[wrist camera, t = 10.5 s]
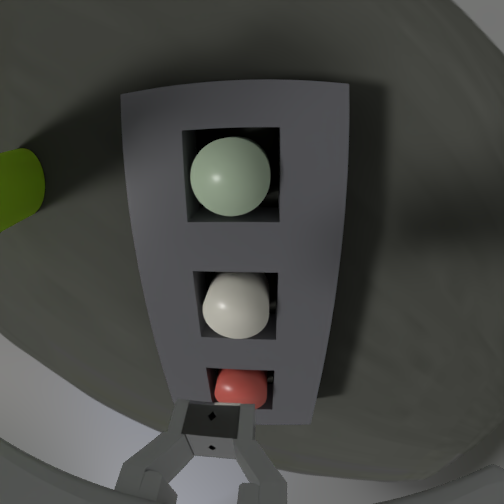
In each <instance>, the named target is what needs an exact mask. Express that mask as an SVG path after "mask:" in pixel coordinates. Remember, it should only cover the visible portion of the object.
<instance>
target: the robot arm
mask: <svg viewBox="0 0 504 504" xmlns="http://www.w3.org/2000/svg"><path fill="white" fill-rule="evenodd" d="M255 432H256V418H255V404H241V403H221V402H204V401H194V400H186V399H177V401H176V402H175V406H174V409H173V413H172V416H171V419H170V423H169V426H168V430H167V432H162V433H161V434H160V435H159V436H157V437H156V438H155V439H154V440H152V441H151V442H150V443H149V444H147V445H146V446H145V447H144V448H142V449H141V450H140V451H139V452H137V453H136V454H135V455H133V456H132V457H131V458H129V459H128V460H127V461H125V462H124V463H123V466H122V468H121V471H120V474H119V477H118V480H117V483H116V486H115V490H113V489H110V488H107V487H104V486H100V485H98V484H95V483H92V482H90V481H87V480H84V479H82V478H79V477H77V476H74V475H72V474H69V473H67V472H65V471H63V470H60V469H58V468H55V467H53V466H51V465H49V464H47V463H45V462H43V461H41V460H39V459H37V458H35V457H33V456H32V455H30V454H28V453H26V452H24V451H22V450H20V449H19V448H17V447H15V446H13V445H12V444H10V443H9V442H7V441H5V440H4V439H2V438H0V504H176V500H177V494H176V492H175V491H174V490H173V489H172V488H171V486H170V485H169V484H168V483H169V482H170V481H171V480H172V479H173V478H174V477H175V476H176V475H177V474H178V473H179V472H180V471H181V470H182V469H183V468H184V467H185V466H186V465H187V463H188V462H189V461H190V460H191V459H192V458H193V457H194V455H195V456H206V457H218V458H228V459H236V460H237V462H238V464H239V465H240V467H241V469H242V470H243V472H244V474H245V476H246V477H247V479H248V481H249V482H250V483H242V484H241V485H240V486H239V492H238V501H237V504H287V482H286V481H285V479H284V478H283V477H282V475H281V474H280V473H279V471H278V470H277V469H276V467H275V466H274V464H273V463H272V462H271V460H270V459H269V458H268V456H267V455H266V453H265V452H264V450H263V449H262V448H261V446H260V445H259V443H258V442H257V440H255ZM375 504H504V469H503V468H501V467H499V466H497V465H494V464H493V465H488V466H486V467H484V468H482V469H480V470H477V471H475V472H473V473H470V474H468V475H466V476H463V477H461V478H459V479H456V480H453V481H451V482H448V483H445V484H443V485H440V486H437V487H434V488H431V489H428V490H425V491H422V492H419V493H415V494H412V495H408V496H405V497H401V498H397V499H393V500H389V501H384V502H380V503H375Z"/></svg>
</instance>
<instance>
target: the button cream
mask: <svg viewBox="0 0 504 504" xmlns="http://www.w3.org/2000/svg"><path fill="white" fill-rule="evenodd" d="M269 290H270V288H269V282H268V279H267V277H266V275H265V274H264V273H263V272H216V273H215V274H214V276H213V278H212V281H211V284H210V286H209V289H208V292H207V295H206V298H205V300H204V303H203V316H204V319H205V321H206V323H207V324H208V325H209V327H210V328H211V329H213V330H214V331H215V332H217V333H218V334H220V335H222V336H225V337H228V338H233V339H244V338H249V337H252V336H254V335H256V334H258V333H259V332H260V331H262V330H263V328H264V327H265V326H266V324H267V322H268V319H269Z"/></svg>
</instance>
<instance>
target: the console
mask: <svg viewBox="0 0 504 504" xmlns="http://www.w3.org/2000/svg"><path fill="white" fill-rule="evenodd" d="M121 126H122V143H123V157H124V168H125V178H126V188H127V196H128V204H129V212H130V219H131V226H132V233H133V239H134V245H135V251H136V257H137V262H138V267H139V273H140V278H141V283H142V287H143V292H144V297H145V301H146V306H147V310H148V314H149V319H150V323H151V327H152V331H153V335H154V339H155V342H156V346H157V350H158V353H159V357H160V361H161V364H162V367H163V371H164V374H165V378H166V381H167V384H168V387H169V390H170V394H171V397H172V400H173V403H174V406H175V402H176V401H177V399H186V400H194V401H204V402H218V401H217V399H216V397H215V388H216V383H217V373H216V368H220V369H239V370H273V384H267V399H266V402H265V403H264V404H263V405H262V406H261V407H259V408H257V409H255V418H256V424H259V425H302V424H311V420H312V416H313V411H314V407H315V403H316V399H317V394H318V390H319V385H320V380H321V375H322V371H323V366H324V361H325V355H326V350H327V345H328V339H329V333H330V327H331V321H332V315H333V309H334V302H335V295H336V288H337V281H338V273H339V265H340V257H341V248H342V238H343V228H344V217H345V205H346V191H347V174H348V152H349V84H345V83H334V82H322V81H307V80H273V79H264V80H229V81H214V82H202V83H191V84H182V85H174V86H167V87H160V88H153V89H147V90H141V91H136V92H131V93H126V94H121ZM245 127H279V196H278V207H256V208H255V209H253V210H252V211H250V212H248V213H245V214H242V215H238V216H224V215H219V214H216V213H214V212H212V211H210V210H208V209H207V208H200V205H199V200H198V199H197V197H196V196H195V194H194V192H193V189H192V186H191V180H190V173H191V167H192V164H193V161H194V159H195V157H196V156H197V151H196V130H199V129H217V128H245ZM205 271H209V272H266V273H277V293H276V314H269V319H268V322H267V324H266V326H265V327H264V328H263V330H262V331H260V332H259V333H258V334H256V335H254V336H252V337H249V338H244V339H233V338H228V337H225V336H222V335H220V334H218V333H217V332H215V331H214V330H213V329H211V328H210V327H209V325H208V324H207V323H206V321H205V319H204V316H203V303H204V300H205V298H206V295H207V289H206V279H205Z"/></svg>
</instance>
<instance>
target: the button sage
mask: <svg viewBox="0 0 504 504" xmlns="http://www.w3.org/2000/svg"><path fill="white" fill-rule="evenodd" d="M190 180H191V186H192V189H193V192H194V194H195V196H196V197H197V199H198V200H199V202H200V203H201V204H202V205H203V206H204V207H206V208H207V209H208V210H210V211H212V212H214V213H216V214H219V215H224V216H238V215H242V214H245V213H248V212H250V211H252V210H253V209H255V208H256V207H257V206H258V205H259V204H260V203H261V202H262V201H263V199H264V198H265V196H266V194H267V192H268V189H269V185H270V162H269V158H268V156H267V154H266V152H265V151H264V149H263V148H262V147H261V146H260V145H259V144H258V143H257V142H255V141H253V140H251V139H249V138H246V137H242V136H231V137H227V138H222V139H218V140H215V141H213V142H211V143H209V144H208V145H206V146H205V147H204V148H203V149H202V150H201V151H200V152H199V153H198V154H197V156H196V157H195V159H194V161H193V164H192V167H191V173H190Z"/></svg>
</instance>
